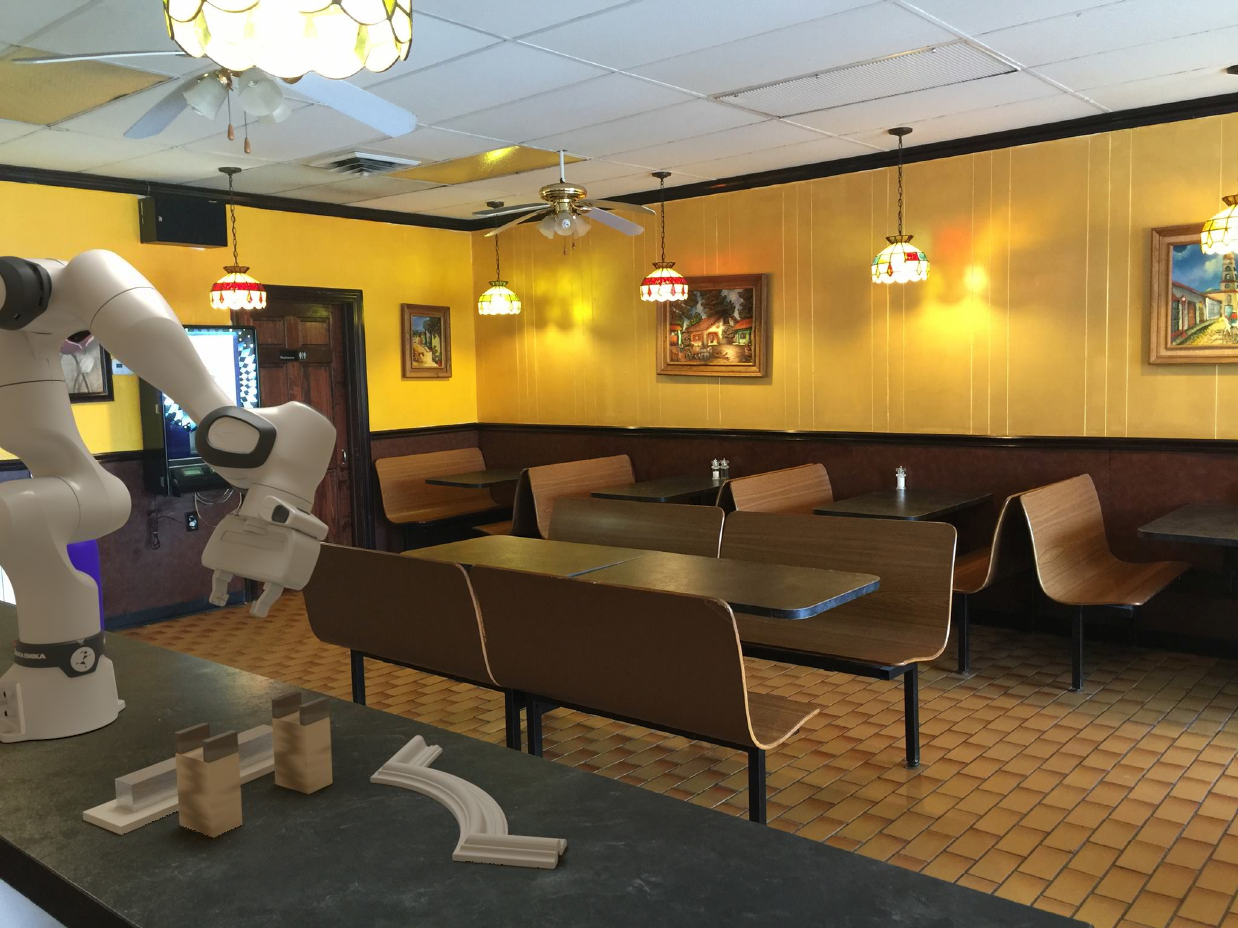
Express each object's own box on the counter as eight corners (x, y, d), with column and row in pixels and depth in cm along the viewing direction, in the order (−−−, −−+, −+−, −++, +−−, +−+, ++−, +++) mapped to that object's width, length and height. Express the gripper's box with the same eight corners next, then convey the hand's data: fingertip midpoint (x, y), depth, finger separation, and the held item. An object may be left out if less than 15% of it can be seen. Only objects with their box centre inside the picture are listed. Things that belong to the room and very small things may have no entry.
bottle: (72, 664, 188) (61, 507, 186) (49, 658, 193) (38, 505, 190) (114, 653, 195) (105, 502, 193) (91, 648, 200) (81, 500, 197)
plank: (83, 819, 121) (82, 811, 121) (272, 745, 145) (271, 738, 145) (121, 834, 117) (121, 826, 117) (309, 755, 141) (309, 748, 141)
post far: (275, 783, 131) (271, 699, 130) (299, 773, 135) (295, 690, 134) (308, 794, 128) (304, 706, 127) (332, 782, 131) (328, 698, 130)
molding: (584, 864, 110) (584, 838, 110) (485, 896, 103) (484, 869, 103) (431, 747, 145) (431, 728, 145) (349, 766, 138) (349, 745, 138)
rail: (116, 806, 123) (114, 778, 122) (264, 748, 141) (263, 724, 141) (133, 812, 121) (131, 784, 120) (281, 752, 139) (279, 728, 139)
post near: (179, 825, 119) (174, 732, 118) (208, 812, 123) (203, 722, 122) (213, 837, 116) (208, 742, 115) (242, 824, 119) (237, 731, 118)
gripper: (212, 499, 142) (174, 592, 139) (302, 514, 130) (262, 616, 127) (248, 514, 147) (211, 604, 143) (337, 530, 135) (300, 628, 131)
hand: (236, 610), depth 135 cm, fingers open, 8 cm apart
